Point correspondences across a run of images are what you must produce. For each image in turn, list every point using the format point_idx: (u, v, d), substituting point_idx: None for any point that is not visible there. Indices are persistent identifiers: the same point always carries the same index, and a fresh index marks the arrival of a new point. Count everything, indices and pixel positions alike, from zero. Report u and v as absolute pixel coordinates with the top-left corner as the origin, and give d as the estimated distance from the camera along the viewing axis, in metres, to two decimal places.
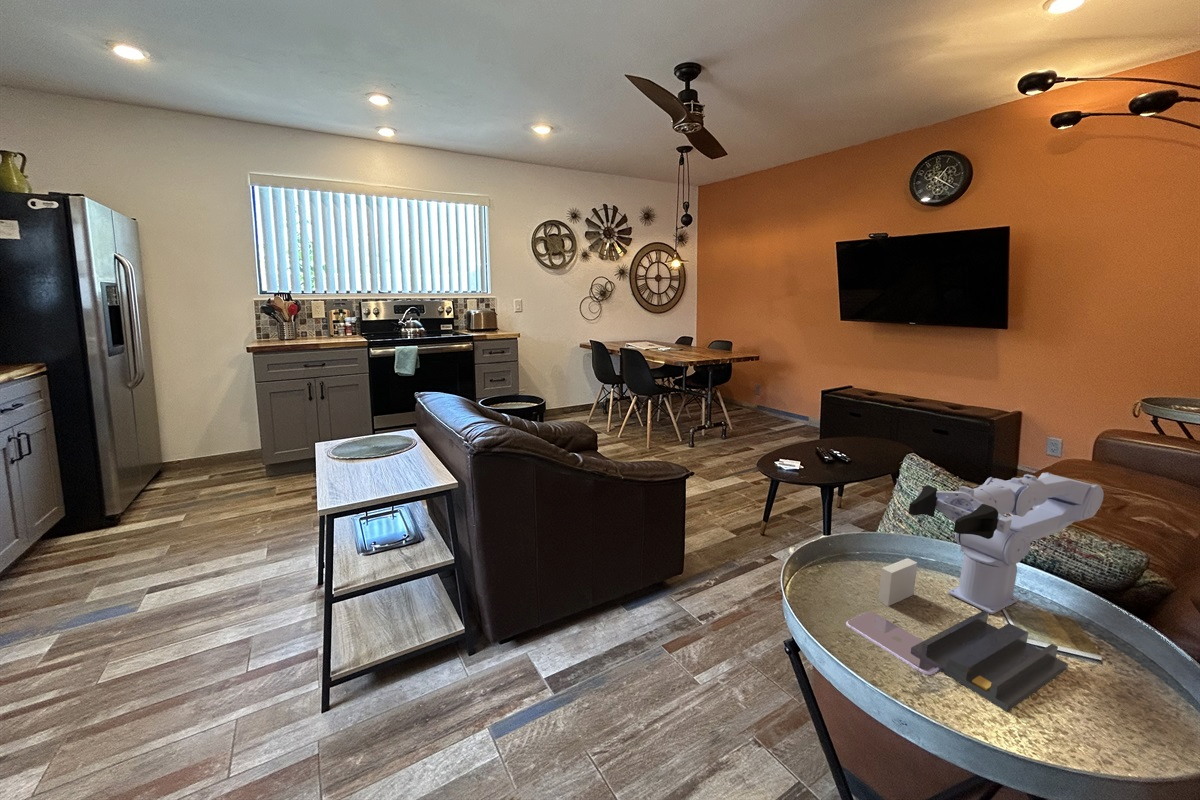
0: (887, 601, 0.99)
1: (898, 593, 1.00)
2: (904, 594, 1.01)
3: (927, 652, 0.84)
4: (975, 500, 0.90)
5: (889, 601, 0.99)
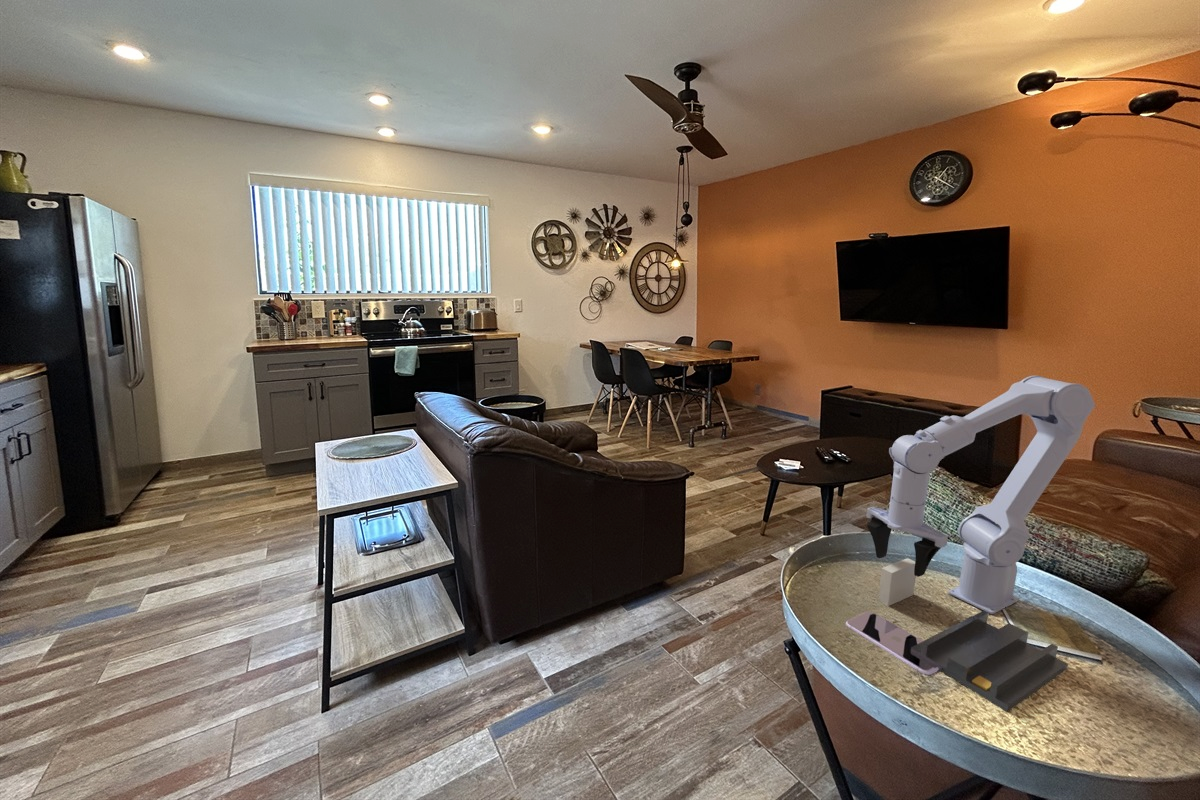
0: (887, 601, 0.99)
1: (898, 593, 1.00)
2: (904, 594, 1.01)
3: (927, 652, 0.84)
4: (906, 531, 0.96)
5: (889, 601, 0.99)
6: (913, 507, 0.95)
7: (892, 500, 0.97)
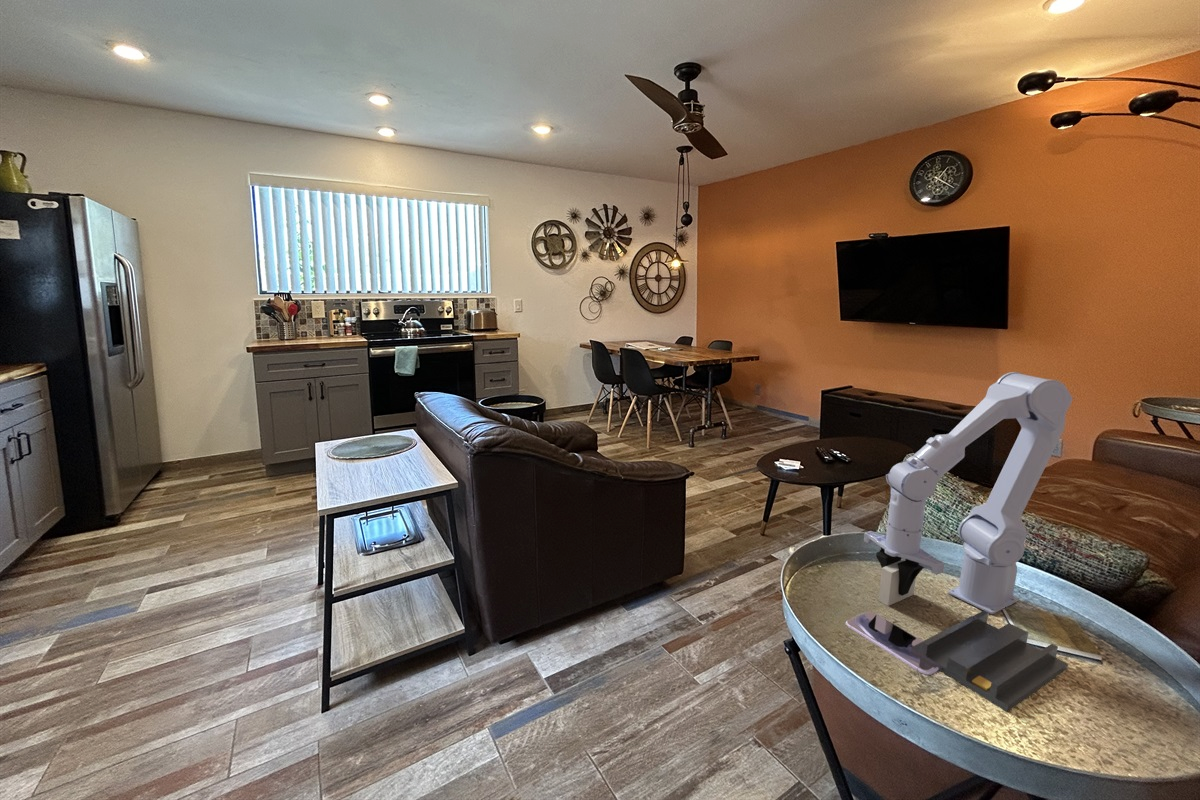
0: (887, 601, 0.99)
1: (898, 592, 1.00)
2: None
3: (927, 652, 0.84)
4: (903, 557, 0.97)
5: (889, 601, 0.99)
6: (910, 534, 0.96)
7: (889, 526, 0.98)
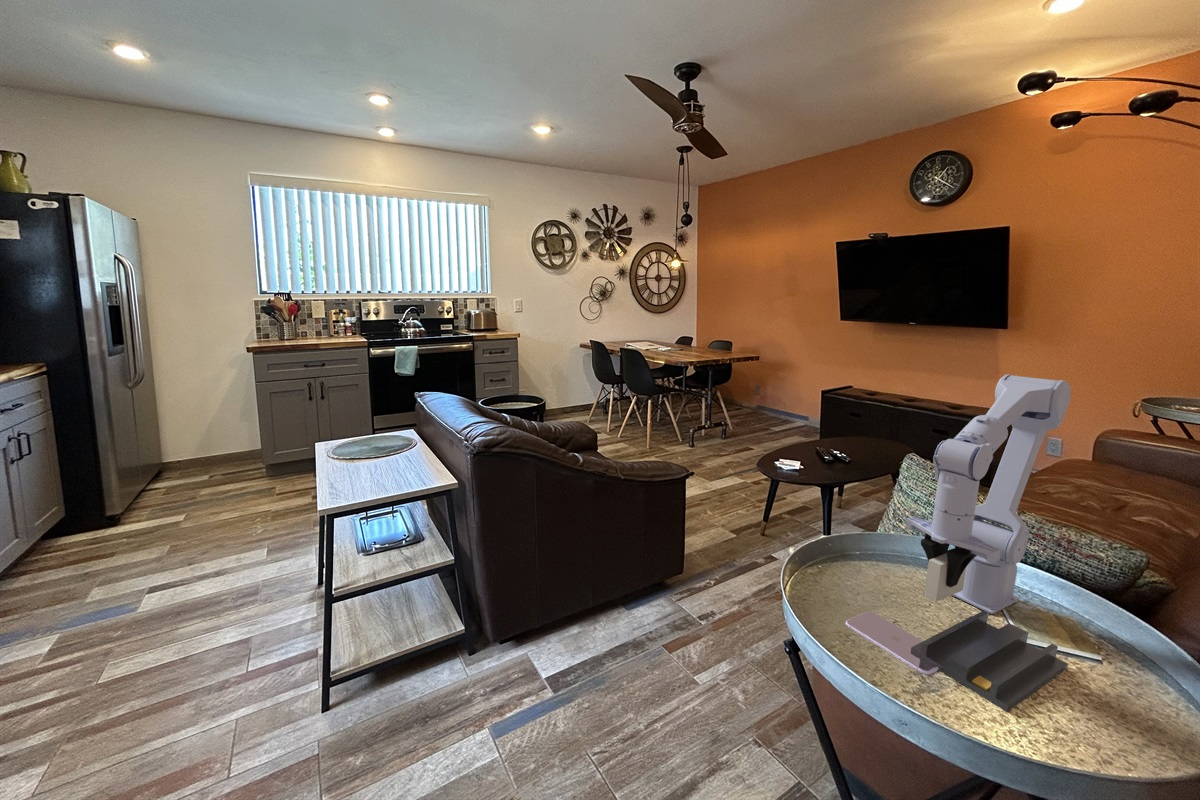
0: (935, 596, 0.89)
1: (946, 588, 0.90)
2: (953, 589, 0.91)
3: (927, 652, 0.84)
4: (953, 544, 0.87)
5: (937, 596, 0.89)
6: (961, 518, 0.86)
7: (936, 510, 0.88)
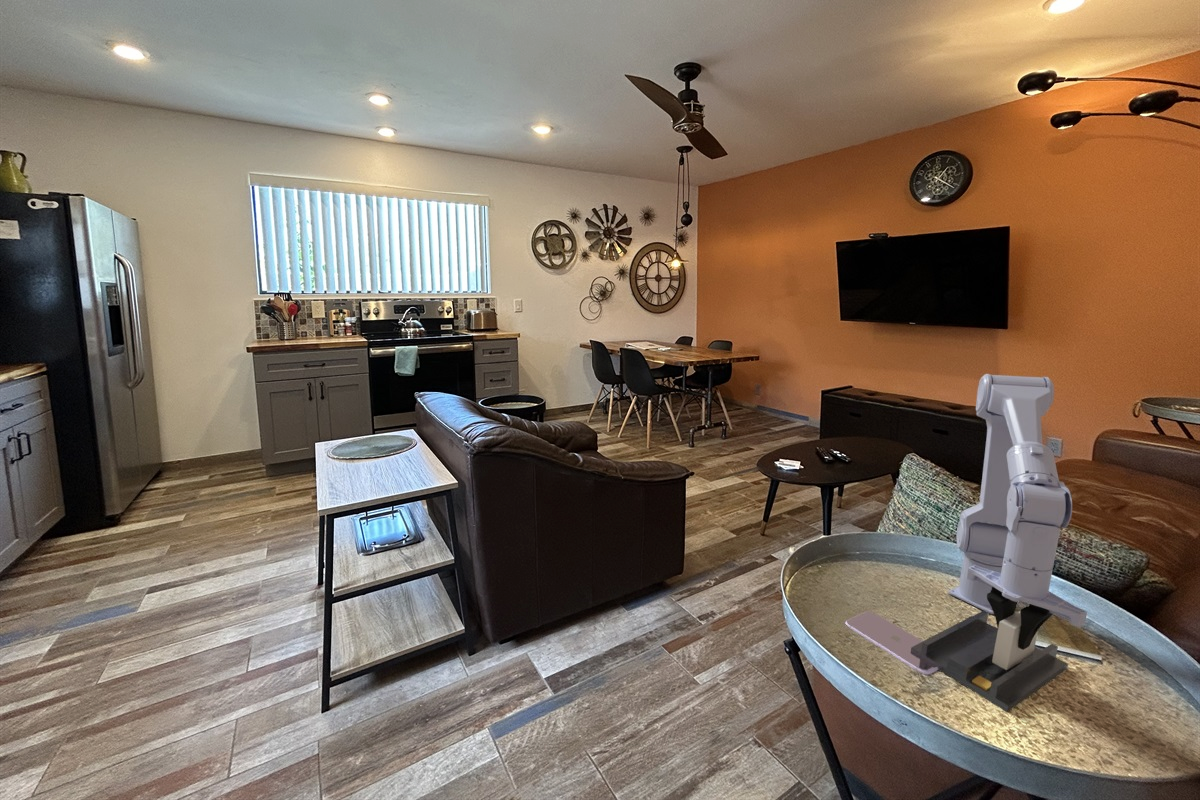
0: (1006, 664, 0.78)
1: (1018, 653, 0.79)
2: (1024, 654, 0.81)
3: (927, 652, 0.84)
4: (1028, 603, 0.76)
5: (1008, 664, 0.78)
6: (1039, 573, 0.75)
7: (1008, 562, 0.78)
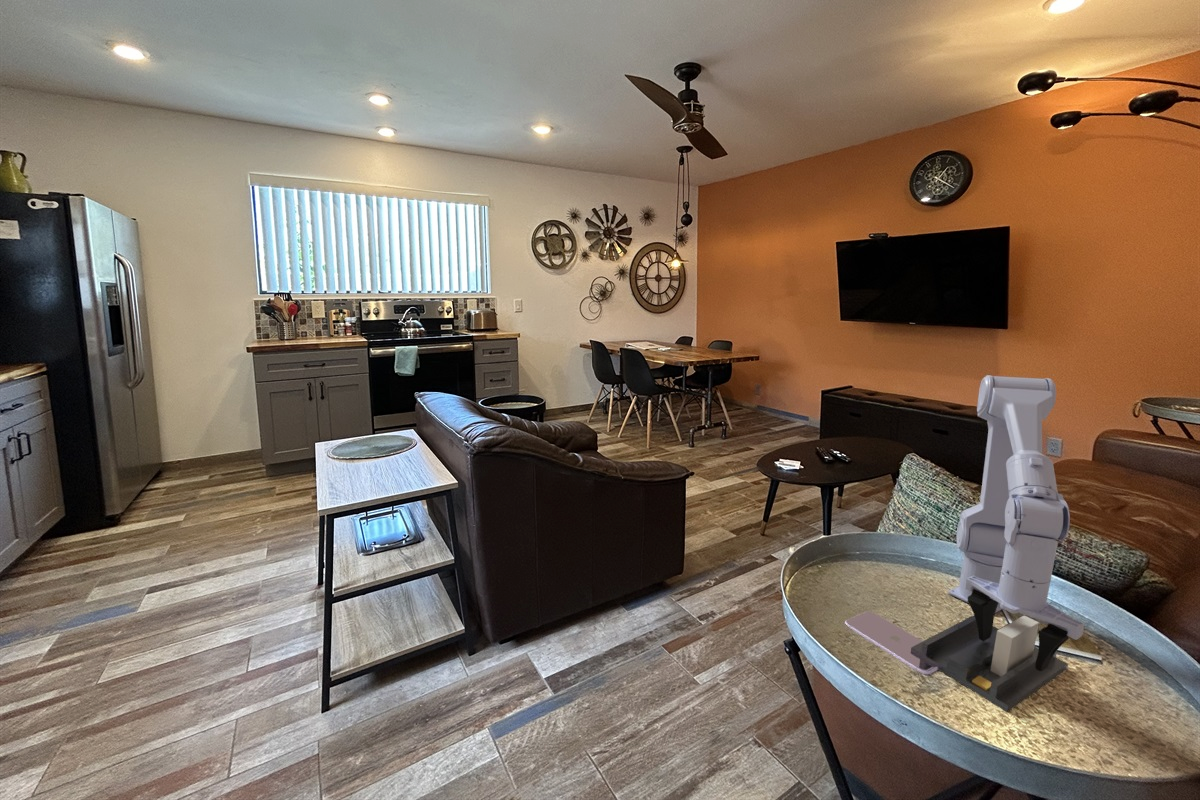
0: (1004, 672, 0.79)
1: (1016, 661, 0.80)
2: (1022, 662, 0.81)
3: (927, 652, 0.84)
4: None
5: None
6: (1036, 585, 0.75)
7: (1006, 574, 0.78)
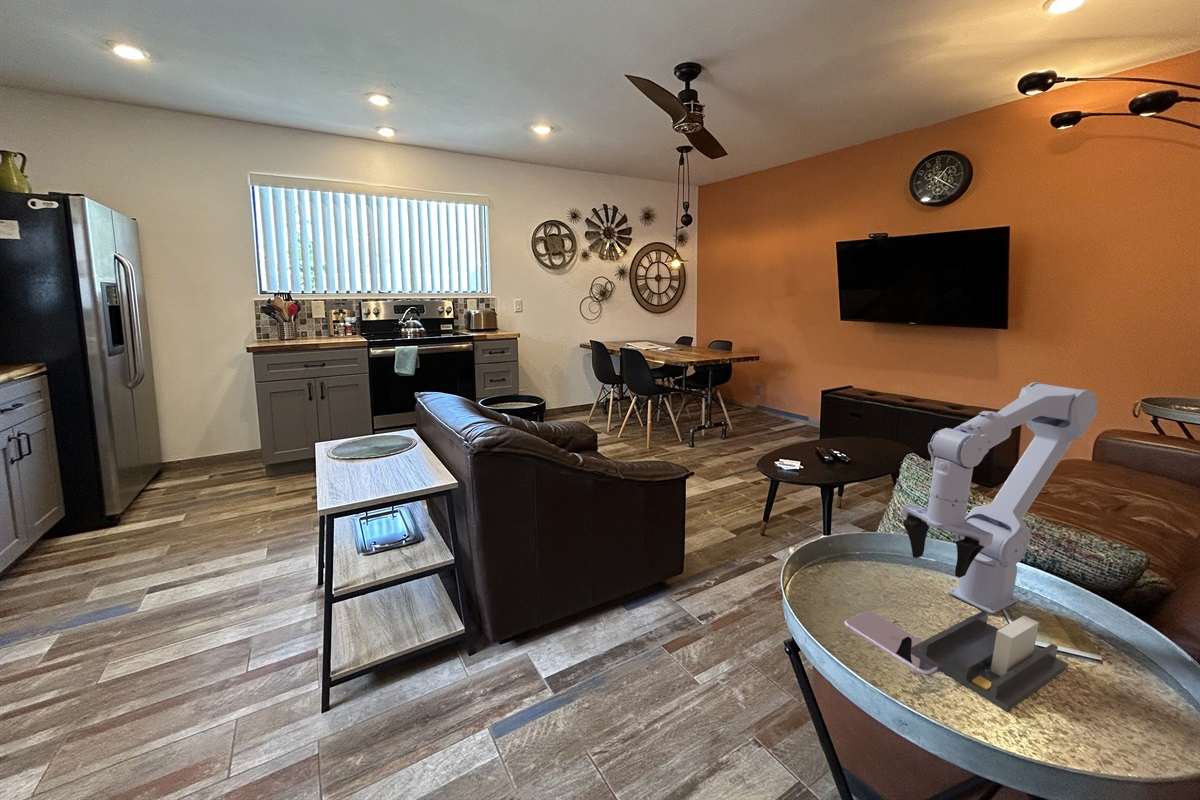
0: (1004, 672, 0.79)
1: (1016, 661, 0.80)
2: (1022, 662, 0.81)
3: (927, 652, 0.84)
4: (947, 529, 0.91)
5: None
6: (955, 504, 0.90)
7: (932, 496, 0.92)
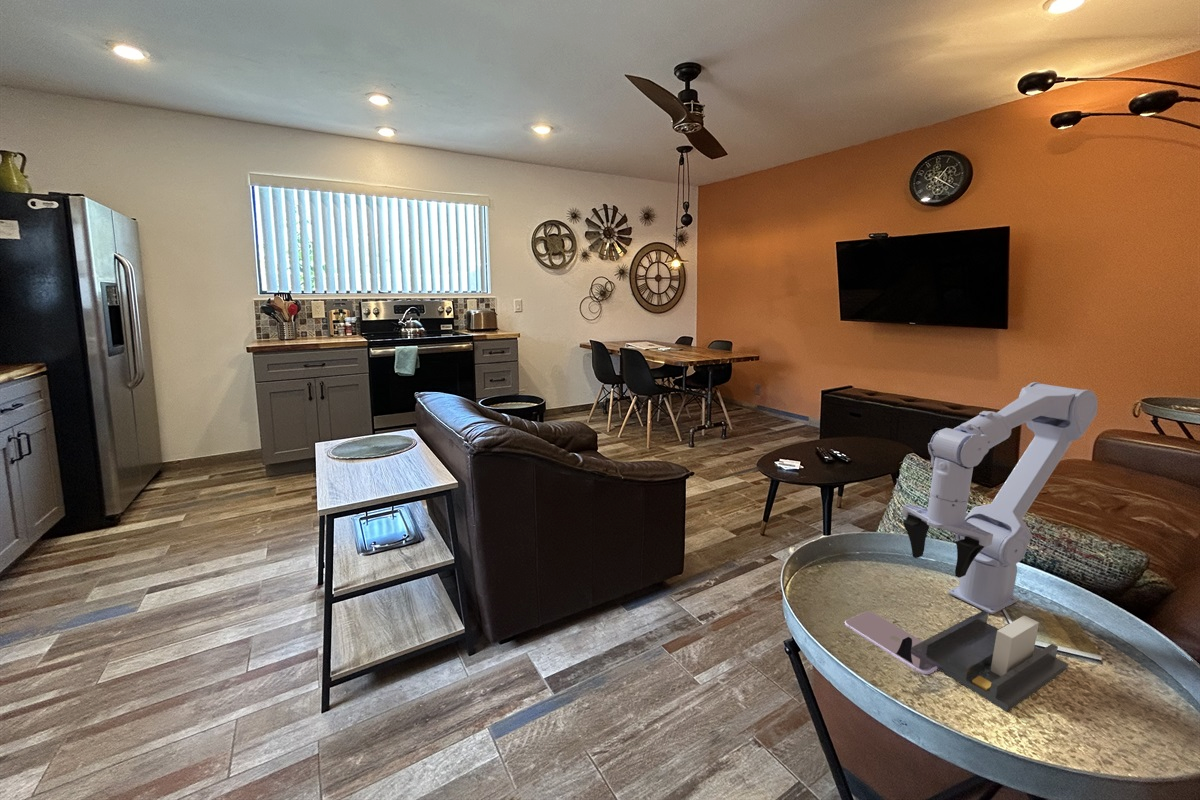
0: (1004, 672, 0.79)
1: (1016, 661, 0.80)
2: (1022, 662, 0.81)
3: (927, 652, 0.84)
4: (947, 529, 0.91)
5: None
6: (955, 504, 0.90)
7: (932, 496, 0.92)
